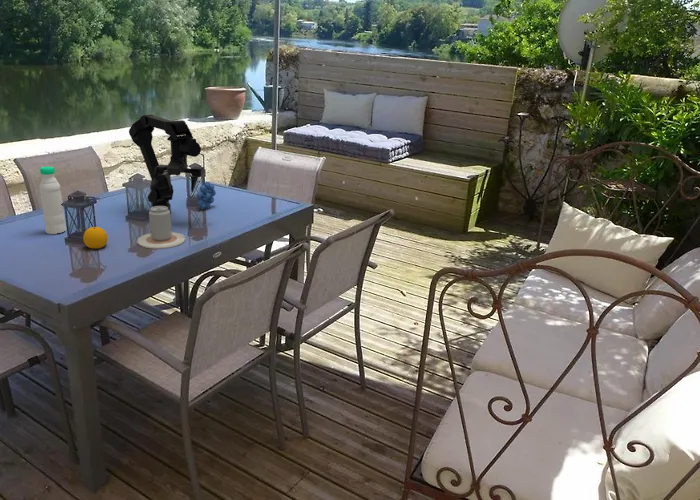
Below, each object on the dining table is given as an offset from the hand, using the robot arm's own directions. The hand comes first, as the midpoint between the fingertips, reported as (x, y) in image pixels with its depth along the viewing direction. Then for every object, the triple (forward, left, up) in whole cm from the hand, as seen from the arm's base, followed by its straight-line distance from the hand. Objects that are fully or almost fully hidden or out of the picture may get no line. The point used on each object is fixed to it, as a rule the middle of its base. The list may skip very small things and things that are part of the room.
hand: (181, 191), depth 231 cm
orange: (-20, -34, -13) cm, 42 cm away
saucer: (0, -24, -13) cm, 27 cm away
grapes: (+3, +21, -13) cm, 25 cm away
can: (0, -24, -12) cm, 27 cm away
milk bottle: (-42, -21, -13) cm, 49 cm away
